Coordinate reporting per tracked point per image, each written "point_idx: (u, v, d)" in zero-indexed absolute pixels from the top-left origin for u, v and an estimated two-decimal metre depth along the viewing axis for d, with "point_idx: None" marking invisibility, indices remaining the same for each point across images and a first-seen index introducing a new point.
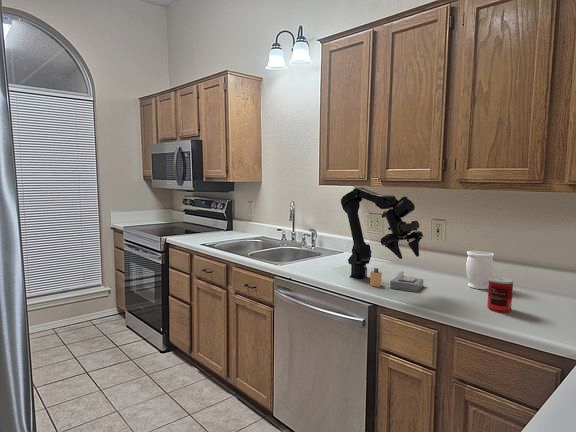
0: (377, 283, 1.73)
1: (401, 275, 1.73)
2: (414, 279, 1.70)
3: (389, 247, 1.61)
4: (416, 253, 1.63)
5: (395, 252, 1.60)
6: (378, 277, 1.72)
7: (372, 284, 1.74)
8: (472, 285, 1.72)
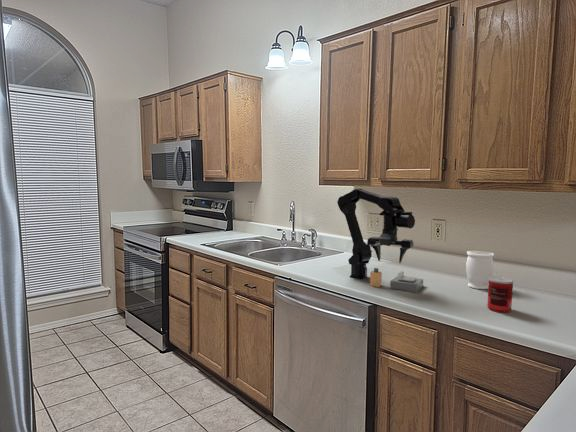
0: (377, 283, 1.73)
1: (401, 275, 1.73)
2: (414, 279, 1.70)
3: None
4: None
5: None
6: (378, 277, 1.72)
7: (372, 284, 1.74)
8: (472, 285, 1.72)
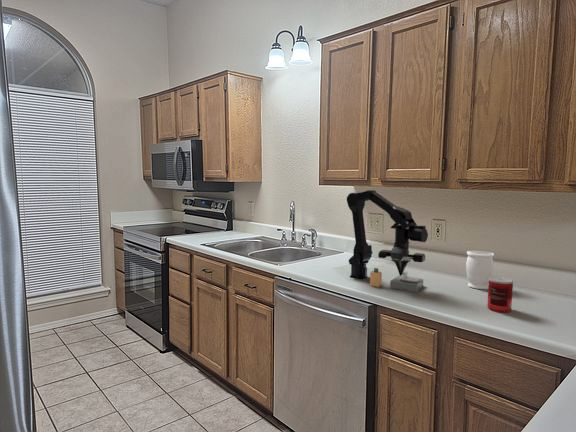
0: (377, 283, 1.73)
1: (405, 275, 1.72)
2: (418, 280, 1.69)
3: None
4: None
5: None
6: (378, 277, 1.72)
7: (372, 284, 1.74)
8: (472, 285, 1.72)
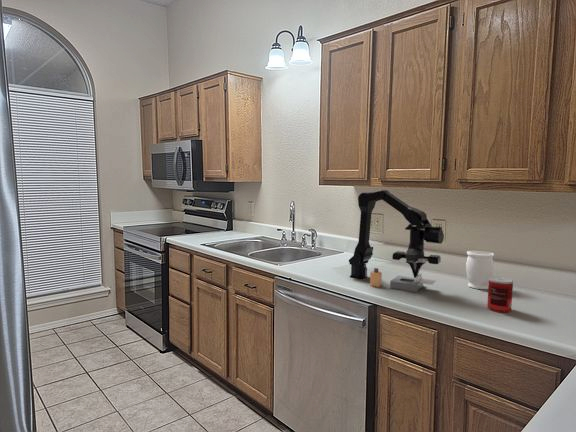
0: (377, 283, 1.73)
1: (419, 278, 1.69)
2: (433, 282, 1.66)
3: None
4: None
5: None
6: (378, 277, 1.72)
7: (372, 284, 1.74)
8: (472, 285, 1.72)
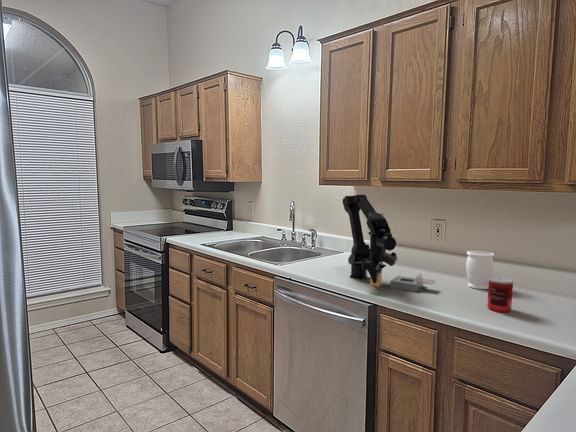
0: (377, 283, 1.73)
1: (419, 278, 1.69)
2: (433, 282, 1.66)
3: (369, 269, 1.72)
4: None
5: (372, 276, 1.72)
6: (378, 277, 1.72)
7: (372, 284, 1.74)
8: (472, 285, 1.72)
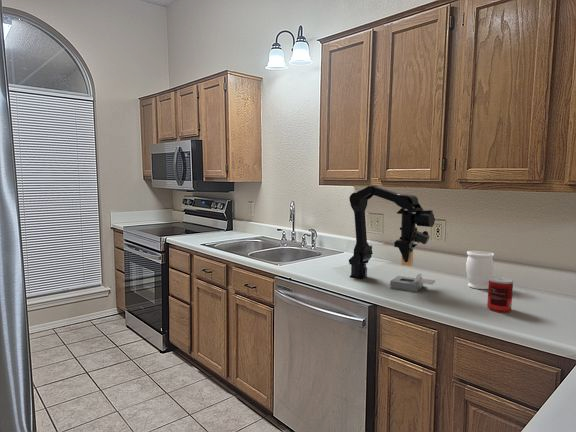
0: (409, 262, 1.69)
1: (419, 278, 1.69)
2: (433, 282, 1.66)
3: (400, 248, 1.69)
4: None
5: (404, 255, 1.69)
6: (410, 256, 1.69)
7: (404, 263, 1.71)
8: (472, 285, 1.72)
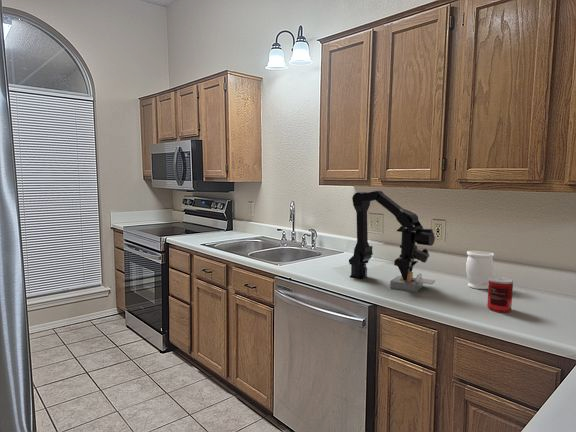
0: None
1: (419, 278, 1.69)
2: (433, 282, 1.66)
3: (399, 267, 1.69)
4: None
5: (403, 273, 1.69)
6: (409, 277, 1.70)
7: None
8: (472, 285, 1.72)
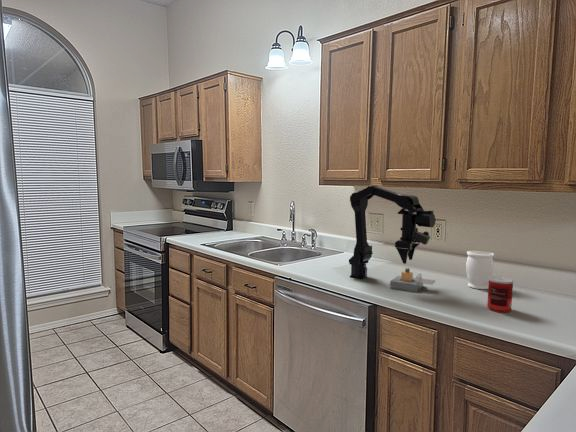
0: None
1: (419, 278, 1.69)
2: (433, 282, 1.66)
3: (399, 250, 1.66)
4: (410, 257, 1.75)
5: (402, 256, 1.67)
6: (409, 277, 1.70)
7: None
8: (472, 285, 1.72)
